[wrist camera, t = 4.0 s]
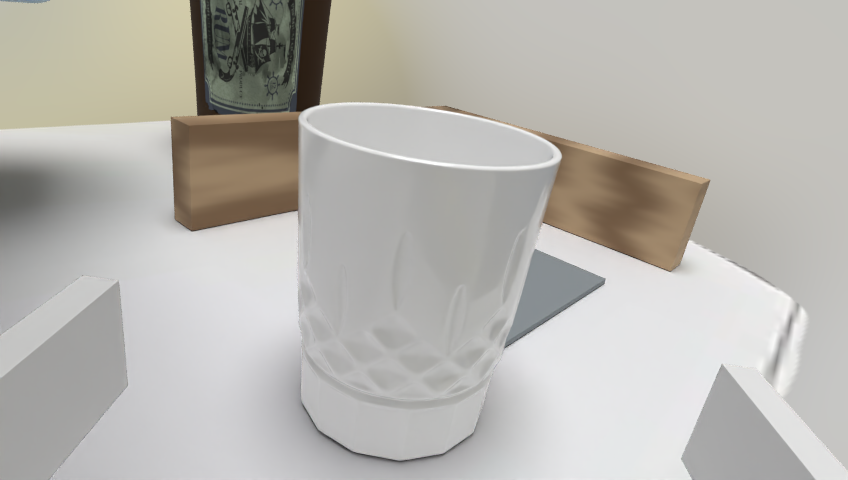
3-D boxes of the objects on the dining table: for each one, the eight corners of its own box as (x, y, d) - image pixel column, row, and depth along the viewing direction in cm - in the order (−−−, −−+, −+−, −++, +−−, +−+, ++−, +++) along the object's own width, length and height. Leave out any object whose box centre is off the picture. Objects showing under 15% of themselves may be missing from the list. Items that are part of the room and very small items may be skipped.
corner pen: (174, 219, 32) (170, 116, 29) (435, 172, 49) (445, 105, 47) (472, 424, 19) (505, 275, 17) (679, 264, 37) (710, 179, 34)
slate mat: (315, 253, 30) (315, 249, 30) (448, 216, 39) (449, 212, 39) (490, 357, 23) (491, 351, 23) (604, 283, 32) (605, 278, 32)
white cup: (449, 328, 25) (489, 112, 21) (536, 456, 18) (619, 173, 14) (273, 342, 22) (283, 94, 18) (300, 499, 15) (325, 160, 12)
